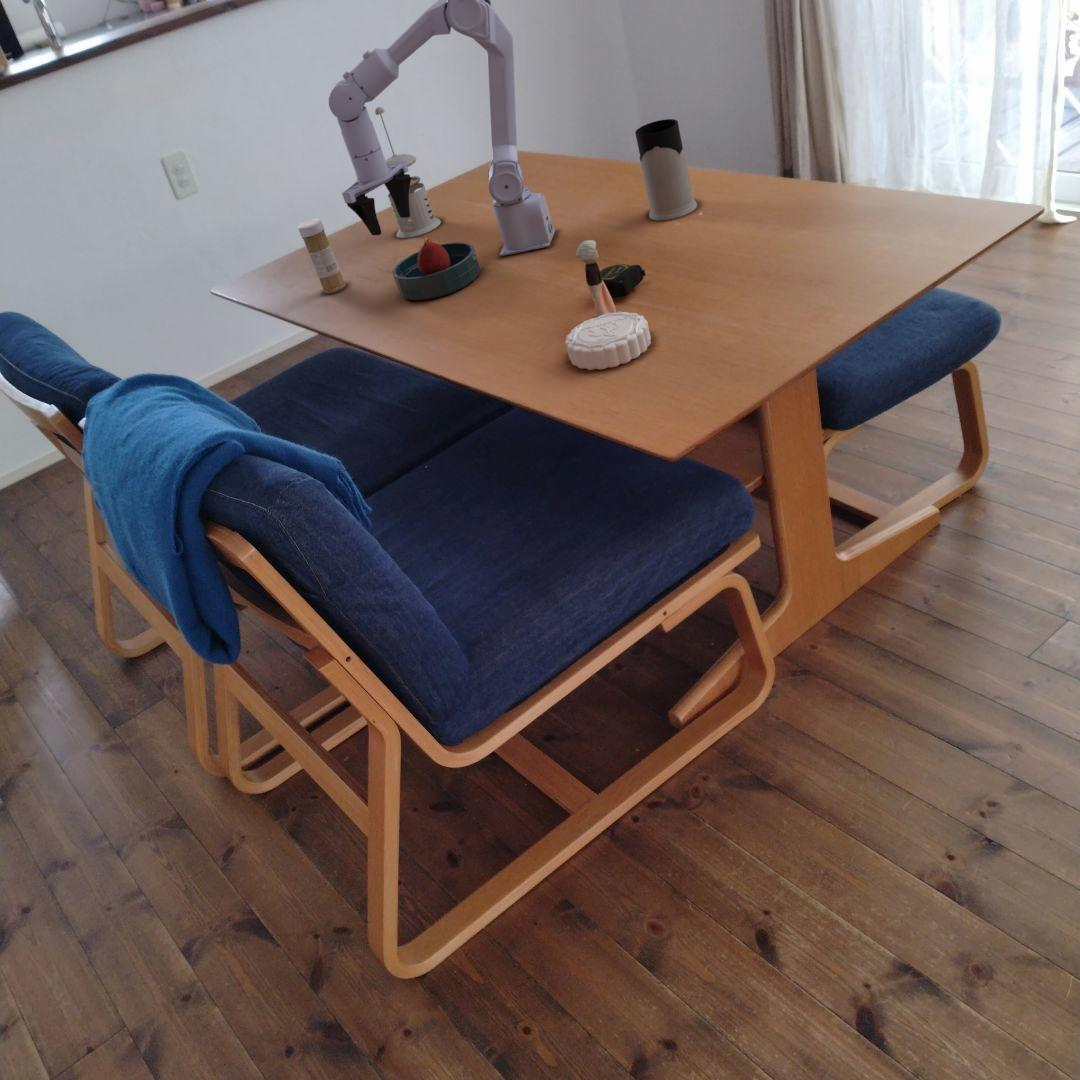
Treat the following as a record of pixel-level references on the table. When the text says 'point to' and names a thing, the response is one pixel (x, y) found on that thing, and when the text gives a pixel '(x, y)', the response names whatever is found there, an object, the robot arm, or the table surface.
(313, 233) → the sprinkles bottle
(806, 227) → the table surface
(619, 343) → the mooncake
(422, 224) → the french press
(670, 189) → the glass holder
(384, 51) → the robot arm
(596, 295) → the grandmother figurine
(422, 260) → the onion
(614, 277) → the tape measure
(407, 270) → the bowl
